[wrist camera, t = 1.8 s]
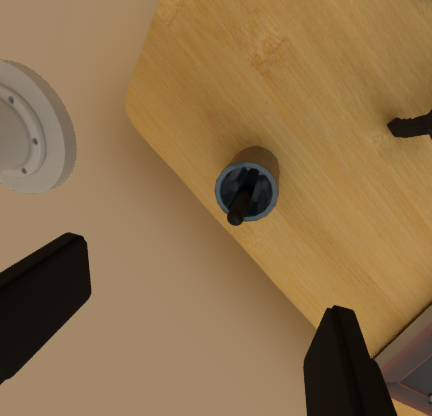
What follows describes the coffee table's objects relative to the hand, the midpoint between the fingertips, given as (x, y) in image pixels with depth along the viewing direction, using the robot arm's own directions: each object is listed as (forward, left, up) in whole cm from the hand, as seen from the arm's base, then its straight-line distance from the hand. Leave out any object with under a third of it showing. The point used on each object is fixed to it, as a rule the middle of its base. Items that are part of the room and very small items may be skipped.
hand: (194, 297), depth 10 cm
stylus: (0, -1, -21) cm, 21 cm away
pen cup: (0, -1, -22) cm, 22 cm away
